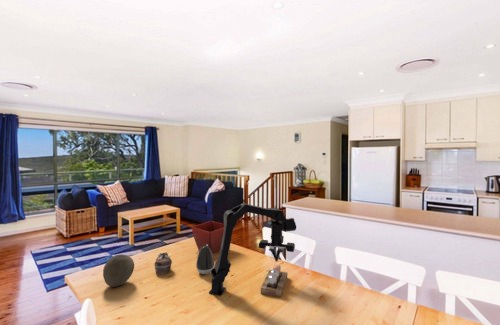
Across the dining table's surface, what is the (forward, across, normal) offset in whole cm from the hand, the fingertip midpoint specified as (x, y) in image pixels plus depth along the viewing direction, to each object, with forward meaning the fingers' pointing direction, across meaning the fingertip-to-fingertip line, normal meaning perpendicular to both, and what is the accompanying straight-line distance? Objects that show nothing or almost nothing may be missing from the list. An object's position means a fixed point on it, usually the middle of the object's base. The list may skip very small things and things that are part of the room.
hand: (276, 261), depth 132 cm
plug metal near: (+7, 0, +11) cm, 13 cm away
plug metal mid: (+7, 0, +5) cm, 9 cm away
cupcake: (+11, +65, +9) cm, 66 cm away
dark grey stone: (+11, +78, +28) cm, 83 cm away
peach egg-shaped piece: (+7, 0, 0) cm, 7 cm away
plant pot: (+11, +53, -28) cm, 61 cm away
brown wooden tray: (+10, 0, +5) cm, 12 cm away
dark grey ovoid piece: (+11, +41, +3) cm, 42 cm away
